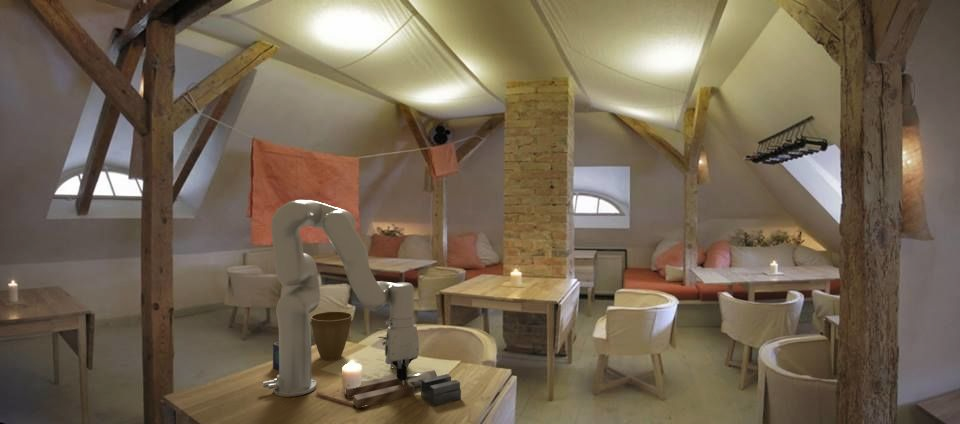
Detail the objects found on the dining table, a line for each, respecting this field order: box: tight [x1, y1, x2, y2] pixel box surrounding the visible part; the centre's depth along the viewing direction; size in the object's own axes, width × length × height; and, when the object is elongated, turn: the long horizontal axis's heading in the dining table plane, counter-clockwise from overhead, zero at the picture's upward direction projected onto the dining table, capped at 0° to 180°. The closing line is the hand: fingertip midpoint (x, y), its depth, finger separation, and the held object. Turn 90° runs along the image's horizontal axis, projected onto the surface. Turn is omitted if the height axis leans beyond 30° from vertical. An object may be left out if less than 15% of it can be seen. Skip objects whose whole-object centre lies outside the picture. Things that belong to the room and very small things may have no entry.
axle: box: [403, 369, 438, 388], centre depth 150 cm, size 10×4×4 cm, turn 121°
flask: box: [272, 341, 279, 372], centre depth 163 cm, size 9×3×11 cm, turn 68°
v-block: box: [420, 373, 462, 407], centre depth 141 cm, size 9×9×5 cm
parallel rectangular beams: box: [345, 374, 415, 410], centre depth 143 cm, size 18×12×3 cm, turn 123°
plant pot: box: [310, 311, 353, 361], centre depth 176 cm, size 15×15×16 cm
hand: (401, 379), depth 147 cm, fingers closed
